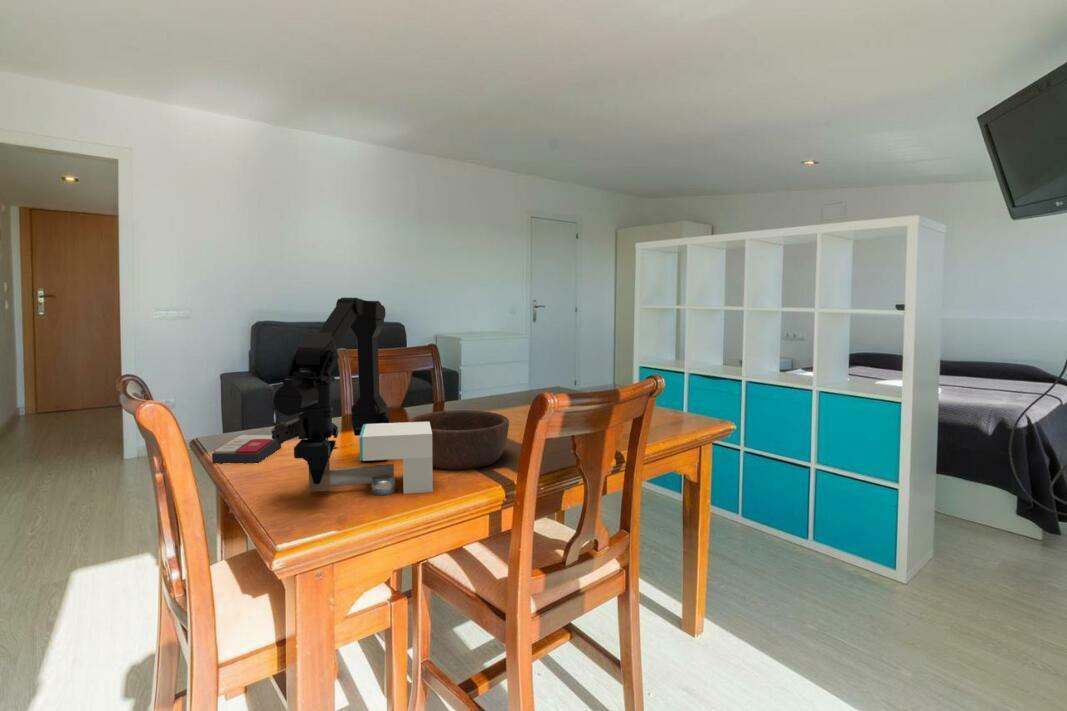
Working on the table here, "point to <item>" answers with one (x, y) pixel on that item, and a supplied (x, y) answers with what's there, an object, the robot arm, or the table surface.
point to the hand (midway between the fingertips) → (318, 480)
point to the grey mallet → (349, 476)
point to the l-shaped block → (402, 450)
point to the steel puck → (383, 485)
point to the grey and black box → (246, 449)
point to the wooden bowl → (465, 438)
